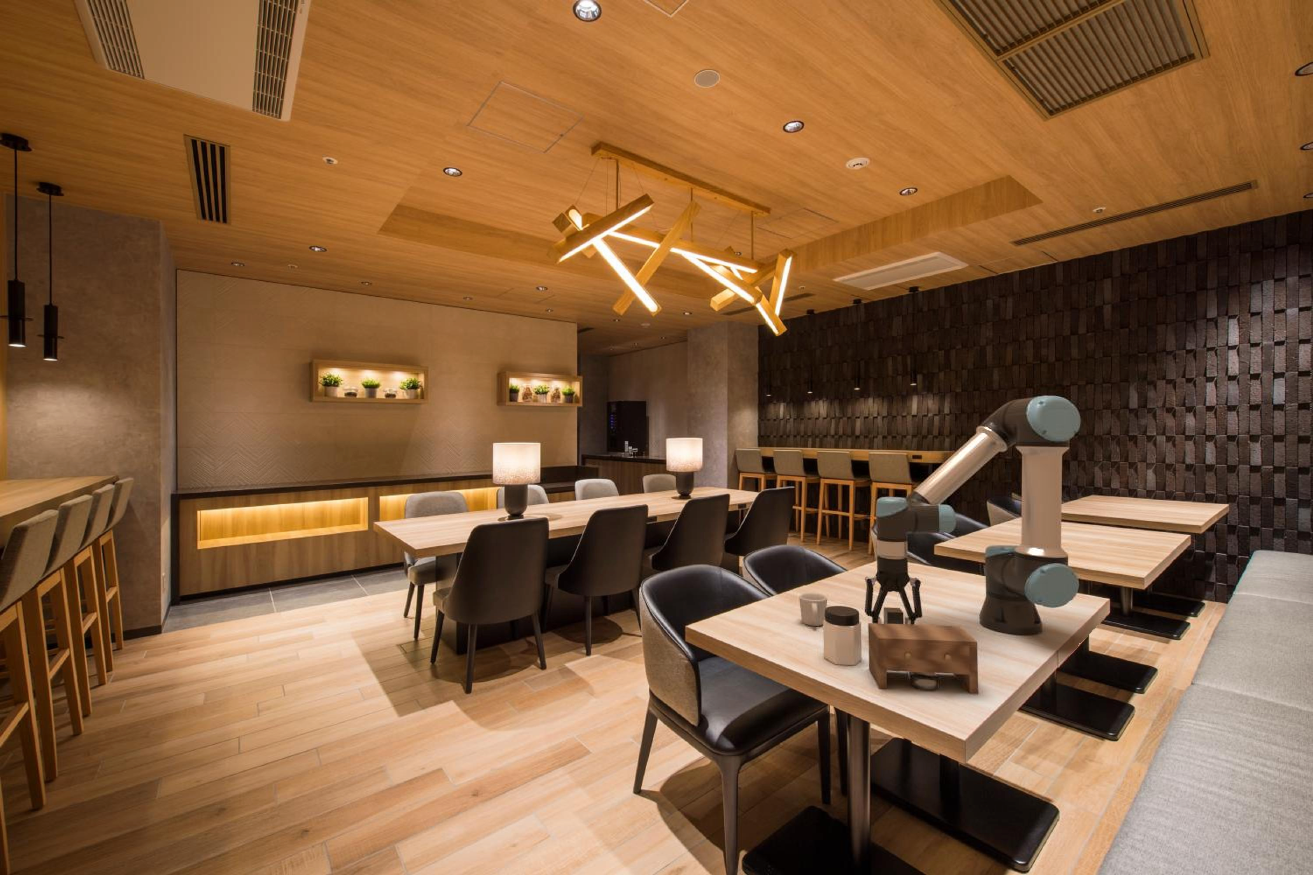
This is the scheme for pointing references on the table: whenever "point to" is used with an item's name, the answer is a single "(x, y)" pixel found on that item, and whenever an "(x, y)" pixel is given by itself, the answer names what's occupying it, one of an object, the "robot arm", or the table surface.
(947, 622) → the table surface
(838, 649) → the jar
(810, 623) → the cup
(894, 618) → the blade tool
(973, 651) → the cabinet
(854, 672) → the table surface
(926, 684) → the disc
